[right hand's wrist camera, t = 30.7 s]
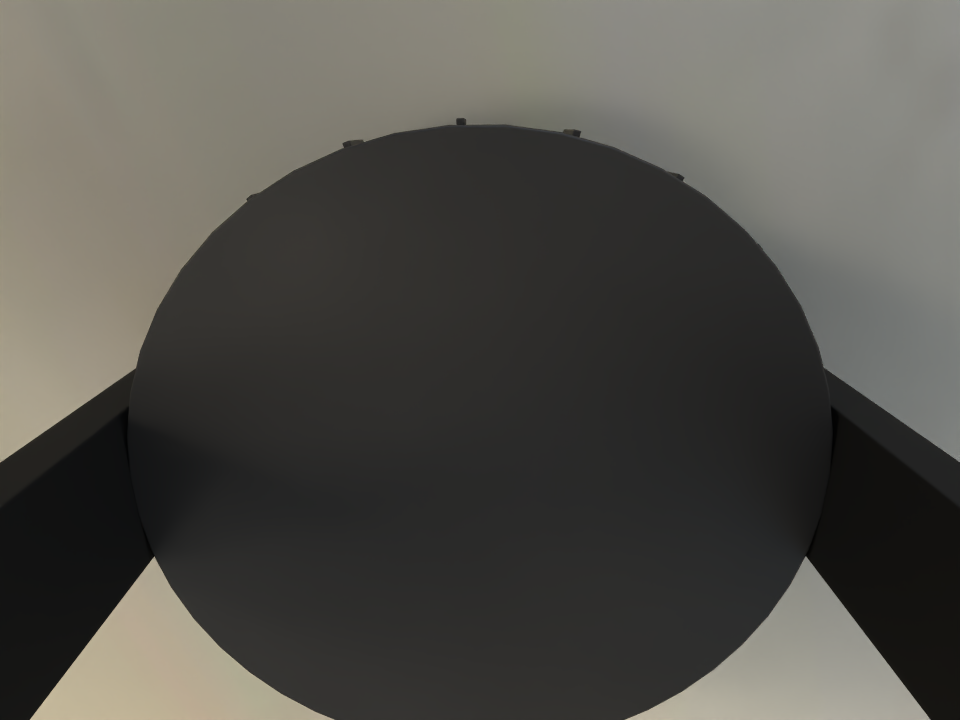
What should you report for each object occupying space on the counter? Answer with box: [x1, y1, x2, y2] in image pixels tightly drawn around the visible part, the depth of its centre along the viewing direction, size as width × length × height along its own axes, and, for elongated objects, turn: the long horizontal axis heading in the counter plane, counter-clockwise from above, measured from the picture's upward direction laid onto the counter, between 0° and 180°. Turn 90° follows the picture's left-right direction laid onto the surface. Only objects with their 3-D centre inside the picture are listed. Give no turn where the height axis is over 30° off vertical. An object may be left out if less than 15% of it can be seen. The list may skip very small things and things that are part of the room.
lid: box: [127, 118, 833, 720], centre depth 11 cm, size 11×11×2 cm
